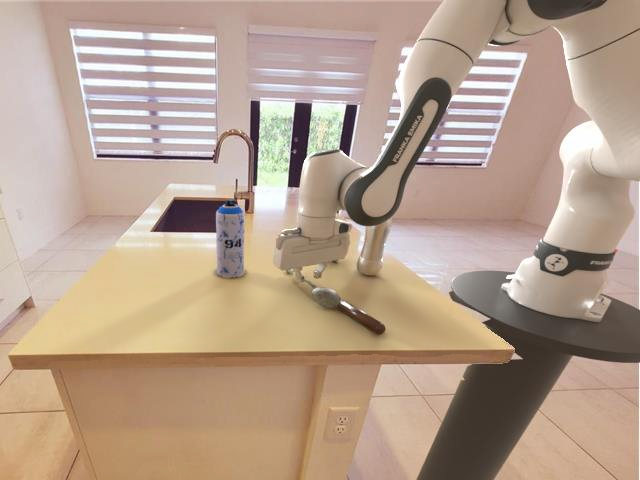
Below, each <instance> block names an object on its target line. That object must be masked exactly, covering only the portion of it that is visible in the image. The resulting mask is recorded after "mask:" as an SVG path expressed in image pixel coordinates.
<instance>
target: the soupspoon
mask: <svg viewBox="0 0 640 480" xmlns="http://www.w3.org/2000/svg"><path fill="white" fill-rule="evenodd" d="M285 272H286V273H287V274H293V275H295V276H296V274H295V272H294V270H293V269H289V270H285ZM304 282H305V283H307V284H308V285H309V286H310V287H311V288H312V290H311V295H312V297H313V299H314V300H315V301H316V302H317V303H318V304H319V305H320V306H322V307H324V308H327V309H331V310H336V309H339V308H338V303H339V302H340V301H342V300H343V299H342V298H341V296H340V294H339V293H338V292H336V291H335V290H333V289H331V288H329V287H325V286H324V287H323V286H319V287H318V286H317V285H316V284H314V283H313V282H311V281H310V280H309V279H307V278H305V279H304Z"/></svg>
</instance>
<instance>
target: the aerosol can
mask: <svg viewBox="0 0 640 480" xmlns="http://www.w3.org/2000/svg"><path fill="white" fill-rule="evenodd" d="M235 202H236V201H235V199H225V204H223V205H221V206H220V207H219V208H218V209H217V210H216V212H215V230H216V231H215V235H216V274H217V276H219V277H222V278H225V279H235V278H240V277H242V276H243V275H245V225H246V223H245V222H246V221H245V219H246V215H245V211H244V210H243V209H242V207H241V206H239V205H238V204H236V203H235Z"/></svg>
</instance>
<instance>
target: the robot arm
mask: <svg viewBox="0 0 640 480" xmlns="http://www.w3.org/2000/svg"><path fill="white" fill-rule="evenodd" d="M550 27H551V28H553V29H554V30H556V31H557V32H558V33H559V35H560V37H561V38H562V41H563V51H564V56H565V62H566V67H567V73H568V78H569V81H570V82H569V83H570V88H571V92H572V98H573V102H574V103H575V104H576V105H577V107H578V108H580V109H582V110H583V111H584V112H585V113H586V114H587V115H588V117H589V118H590V119H591V120H589V121H585V122H582V123H581V124H579V125H577V126H576V127H574V128H573V129H572V130H571V131H569V132H568V133H567V135H566V136H564V138H563V140H562V142H561V144H560V145H559V146H560V147H559V151H558V153H559V154H558V155H559V159H560V161H561V163H562V166H563V167H562V169H563V175H562V178H563V179H562V184H561V192H560V197H559V201H558V204H557V207H556V210H555V213H554V215H553V217H552V219H551V222H550V224H549V225H548V227H547V230H546V231H545V234H544V236H543V237H542V238H541V239H540V240H539V241H538V243H537V244H536V246H535V250H534V252H533V254H532V255H533V256H531V257H528V258H525V259H523V260H522V261H521V262H520V264H519V266H518V268H517V269H516V271H515V275H509V276H507V279H509V278H513V279H512V280H511V282H510V283H504V284H503V285H502V286H501V288H502V289H503V290H505V291H506V292H507V293H508V295H509V297H510V298H511V299H513V300H514V301H516V302H517V303H519V304H521V305H523V306H525V307H528V308H530V309H533V310H536V311H539V312H542V313H546V314H550V315H554V316H559V317H565V318H576V319H583V320H587V321H592V322H600V321H601V320H602V318H603V316H604V314H605V312H606V311H607V309H608V307H609V305H610V303H611V300H610V299H608V298H606V297H604V296H602V295H600V294H601V293H602V294H603V291H604V290H605V288H606V287H607V285H608V283H609V281H610V279H609V275H608V272H607V270H608V269H609V268H610V266H611V264H612V263H613V262H614V259H615V256H616V254H617V253H618V249H617V247H618V245H619V243H620V242H621V240H622V239H623V237H624V235H625V233H626V232H627V230H628V228H629V227H630V225H631V224H632V221H633V220H634V218H635V216H636V215H635V214H636V212H635V208H634V206H633V204H632V202H631V198H630V187H631V183H632V181H633V182H634V181H635V182H640V0H443V1H442V2H441V4H439V6H438V7H437V9H436V10H435V12H433V14H432V16H431V18H430V19H429V20H428V22H427V24H426V25H425V27H424V28H423V29H422V32H420V35H419V37H418V38H417V39H416V42H415V43H414V46H413V47H412V48H411V50H410V52H409V54H408V55H407V57H406V59H405V61H404V64H403V66H402V69H401V71H400V73H399V76H398V79H397V81H396V92H397V96H398V100H399V101H400V104H401V110H400V115H399V119H398V121H397V123H396V126H395V127H394V128H393V131H392V132H391V135H390V137H389V138H388V140H387V141H386V143H385V146H384V147H383V149H382V150H381V153H380V154H379V156H378V158H377V159H376V161H375V163H374V164H373V165H372V166H371V167H369V166H366V165H363V164H361V163H359V162H358V161H356V160H354V159H353V158H351V157H349V156H348V155H347V154H345V153H344V152H343V150H342V149H340V148H339V149H338V148H331V149H328V148H327V149H322V150H319V151H318V150H316V151H315V152H314V151H313V152H311V153H310V154H309V155H307V157H306V158H305V160H304V162H303V165H302V169H301V173H300V174H301V175H300V180H299V181H300V182H299V188H298V189H299V190H298V195H299V205H298V207H297V210H296V211H297V212H296V222H295V227H294V228H291V229H283V230H282V231H281V232H280V233H279V234H278V235H276V237H275V248H274V252H273V258H272V259H273V260H272V263H273V266H275V268H277V269H278V270H280V271H282V272H283V271H286V270H289V269H291V270H293V271H294V272H295V274H296V275H295V274H294V275H295V279H294V280H295V282H296V283H298V284H299V283H304V282H305V281H304V279H306V275H305V274H303V273H302V272H301V271H303V267H309V266H313V265H318V266H317V267H316V269H314V270H313V274H312V277H313V278H314V279H316V280H318V279H322V278H323V273H324V272H325V270H326V268H327V267H328V264H329V263H330V262H332V261H335V260H338V261H339V260H344V259H345V258H346V257H347V256H348V253H349V249H350V245H349V242H350V243H351V236H350V232H352V226H353V224H351V223H350V222H347V221H344V220H342V219H339V218H338V217H337V216H338V215H337V214H338V212H339V211H345V212H346V213H347V216H348V217H349V218H350V219H351V221H353V223H355V224H357V225H359V226H362V227H366V226H376V225H379V224H381V223H384V222H385V221H387V220H388V219H390V218H392V217H393V216H394V215H395V214H396V212H397V211H398V209H399V208H400V206H401V203H402V200H403V196H404V192H405V188H406V185H407V183H408V179H409V177H410V176H411V173H412V172H413V170H414V168H415V167H416V165H417V163H418V161H419V160H420V158H421V156H422V154H423V153H424V151H425V149H426V148H427V146H428V144H429V142H430V141H431V139H432V137H433V136H434V134H435V133H436V130H437V128H438V127H439V125H440V124H441V122H442V119H444V116H445V114H446V112H447V110H448V107H449V106H450V103H451V102H452V100H453V98H454V97H455V95H456V93H457V92H458V91H459V88H460V87H461V85H462V84H463V83H464V81H465V80H466V78H467V76H468V75H469V74H470V72H471V70H472V69H473V67H474V66H475V64H476V63H477V61H478V60H479V58H480V56H481V55H482V53H483V51H484V50H485V48H487V47H488V45H489V46H493V47H494V46H495V47H504V46H509V45H513V44H516V43H518V42H520V41H522V40H525V39H527V38H530V37H533V36H535V35H537V34H539V33H542V32H544V31H546V30H548V29H549V28H550Z"/></svg>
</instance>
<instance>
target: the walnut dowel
mask: <svg viewBox="0 0 640 480" xmlns="http://www.w3.org/2000/svg"><path fill="white" fill-rule="evenodd" d="M341 300H342V301H340V302H339V303H338V308H337V309H339V310H340V311H341V312H342V313H344V314H345V315H347V316H348V317H350V318H351V319H352V320H355V321H356V322H358V323H359V324H360V325H362V326H363V327H365V328H366V329H368V330H370V331H371V332H373V333H374V334H376V335H383V334H385V332H386V330H387V327H386V324H384V323H383V322H381V321H379V320H378V319H377V318H375V317H373V316H372V315H370V314H368V313H366V312H365V311H363V310H362V309H360V308H359V307H357V306H355V305H354V304H352V303H350V302H348V301H347V300H344V299H341Z"/></svg>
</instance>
